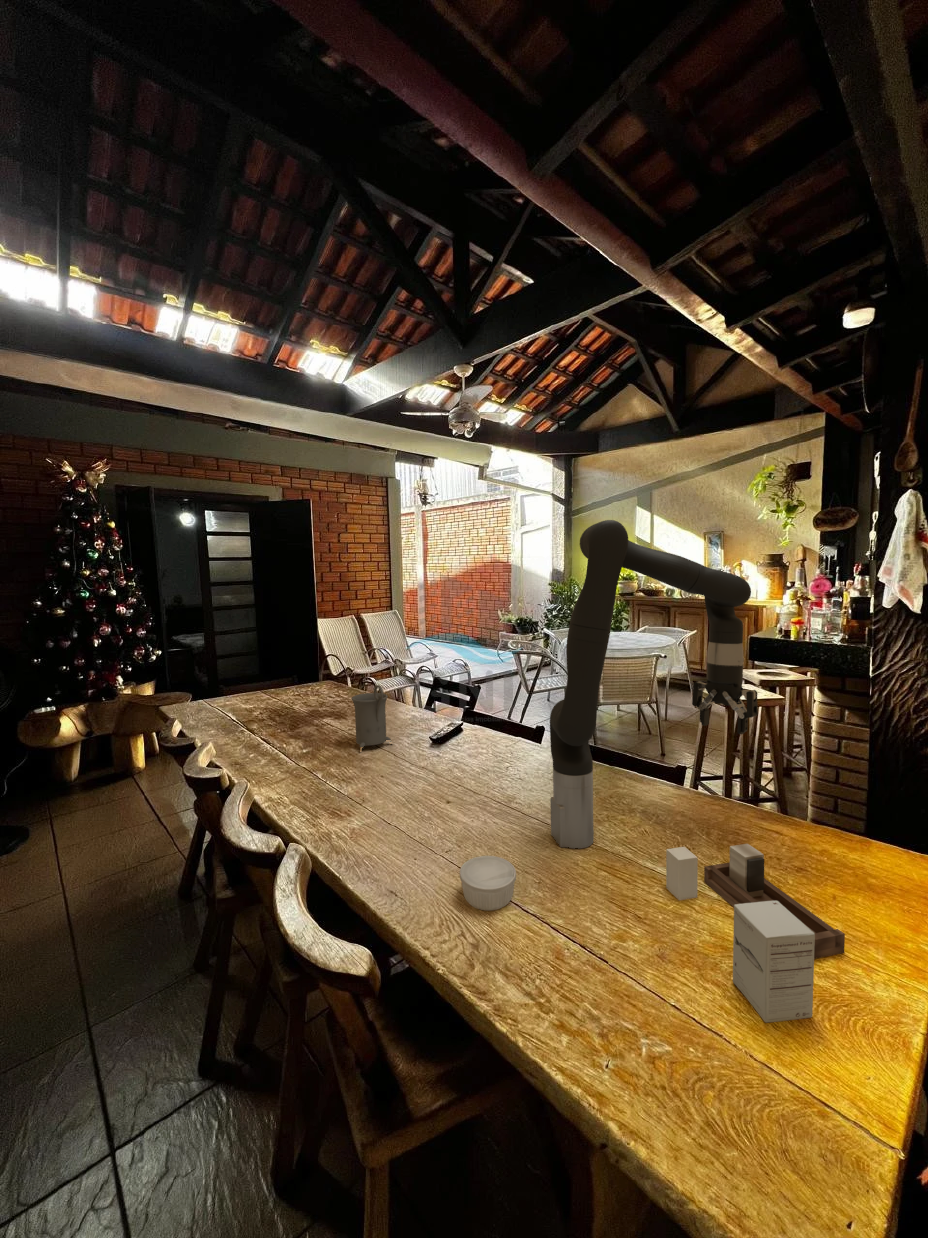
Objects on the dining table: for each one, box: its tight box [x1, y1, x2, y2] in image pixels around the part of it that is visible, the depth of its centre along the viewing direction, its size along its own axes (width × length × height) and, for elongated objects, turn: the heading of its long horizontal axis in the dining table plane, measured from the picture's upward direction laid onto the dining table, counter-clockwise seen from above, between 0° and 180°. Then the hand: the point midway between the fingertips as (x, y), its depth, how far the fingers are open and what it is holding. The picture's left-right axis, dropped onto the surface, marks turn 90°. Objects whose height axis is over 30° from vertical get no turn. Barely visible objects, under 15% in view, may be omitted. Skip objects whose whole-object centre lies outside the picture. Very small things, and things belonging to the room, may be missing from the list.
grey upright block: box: [665, 846, 699, 901], centre depth 97 cm, size 4×5×8 cm
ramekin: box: [459, 855, 517, 912], centre depth 97 cm, size 11×11×5 cm
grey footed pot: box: [351, 684, 392, 748], centre depth 189 cm, size 19×15×25 cm
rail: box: [703, 843, 846, 960], centre depth 90 cm, size 9×22×9 cm, turn 11°
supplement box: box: [732, 901, 815, 1023], centre depth 71 cm, size 7×7×13 cm
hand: (722, 729), depth 117 cm, fingers open, 8 cm apart
